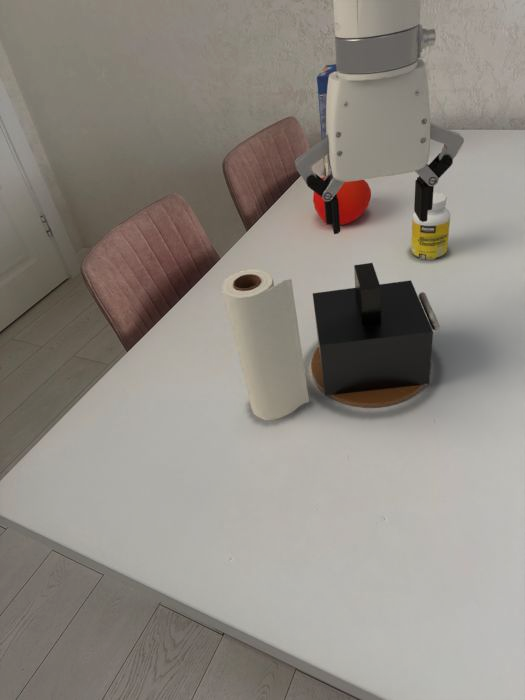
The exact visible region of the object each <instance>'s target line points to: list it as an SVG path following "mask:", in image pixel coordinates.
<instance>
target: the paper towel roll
mask: <svg viewBox="0 0 525 700" xmlns="http://www.w3.org/2000/svg"><path fill="white" fill-rule="evenodd" d="M221 292H222V297H223V301H224V304H225V308H226V312H227V316H228V320H229V324H230V328H231V333H232V336H233V341H234V344H235V348H236V349H235V350H236V352H237V356H238V361H239V364H240V367H241V372H242V377H243V381H244V385H245V388H246V392H247V396H248V398H249V399H248V400H249V404H250V408H251V410H252V413H253V414H254V415H255V417H257V418H258V419H261V420H265V421H276V420H278V419H280V418H284V417H286V416H288V415H291V414H292V413H294V412H295V411H296V410H297V409H299V407H301V406H303V405H304V404H308V403H310V397H309V393H308V391H309V390H308V387H307V378H306V371H305V364H304V358H303V350H302V344H301V343H302V342H301V337H300V330H299V329H300V328H299V323H298V316H297V315H298V314H297V308H296V301H295V295H294V289H293V281H292V278H287V279H284V280H282V281H281V282H278V283H276V284H275V283H274V278H273V277H272V275H271V273H270V272H268V271H266V270H263V269H256V268H253V269H244V270H241V271H237V272H235V273H233V274H231V275H229V276H228V277H226V278H225V279H224V281H222V285H221Z"/></svg>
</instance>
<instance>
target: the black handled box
mask: <svg viewBox="0 0 525 700" xmlns="http://www.w3.org/2000/svg"><path fill="white" fill-rule="evenodd" d="M353 269H354V272H353V273H354V287H350V288H343V289H336V290H335V289H334V290H327V291H321V292H320V291H319V292H312V302H313V309H314V310H313V311H314V317H315V319H314V320H315V326H316V328H315V329H316V334H317V336H316V337H317V344H318V347H316V349H315V351H314V353H313V355H312V357H311V363H310V370H311V376H312V378H313V380H314V382H315V384H316V386H317V387H318V388H319V390H321V392H323V393H324V395H325V396H328V397H329V398H331V399H332V400H335V401H336V402H339V403H340V404H341V403H342V404H343V405H347V406H352V407H358V408H367V409H368V408H369V409H371V408H372V409H373V408H383V407H384V408H385V407H389V406H394V405H397V404H400V403H402V402H405V401H407V400H409V399H411V398H413V397H414V396H415V395H417V394H418V393H419V392H420V391H421V390H423V388H424V387H425V386H426V385H430V381H431V380H430V379H431V373H432V372H431V371H432V354H433V338H434V331H438V330H439V329H440V327H441V326H440V325H441V324H440V323H439V320H438V318H437V316H436V313H435V312H434V310H433V307H432V305H431V302H430V301H429V299H428V296H427V294H426V293H425V292H422V291H421V292H419V293H417V291H416V288H415V286H414V284H413V282H412V280H411V279H410V280H402V281H396V282H395V281H394V282H387V283H380V281H379V278H378V275H377V271H376V269H375V266H374V263H373V262H367V263H361V264H354V265H353Z"/></svg>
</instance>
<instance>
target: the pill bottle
mask: <svg viewBox="0 0 525 700" xmlns="http://www.w3.org/2000/svg"><path fill="white" fill-rule="evenodd" d="M446 205H447V195H446V194H444V193H443V192H438V191H433V205H432V210H428V215H427V221H425V222H422V221H420V220H419V218H418V217H417V215H416V213H415V211H414V212H413V214H412V219H411V220H412V221H411V225H412V226H411V243H410V244H411V247H410V253H411V254H410V255H411V256H412V257H413V258H414V259H416V260H418V261H422V262H435V261H439V260H441V259H443V258H445V257H446V256H447V253H448V245H449V236H450V235H449V234H450V225H451V224H450V223H451V212H450V210H449V209H448V208H447V207H446Z"/></svg>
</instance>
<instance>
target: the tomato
mask: <svg viewBox="0 0 525 700" xmlns="http://www.w3.org/2000/svg"><path fill="white" fill-rule="evenodd" d="M325 177H326V176H322V177H321V178H322V179H323V180H324V179H325ZM336 195H337V198H338V202H339V217H340V226H344V225H348V224H350V223H352V222H354V221H356V220H357V219H358V218H360V217H361V216H362V215H363V214H364V213H365V211H366V210H367V209H368V207H369V205H370V202H371V198H372V189H371V187H370V185H369V184H368V182H367V181H366V179H365V180H358V181H349V182H344V184H343V185H342V186H341V188H340V189H339V190H338V192H337V193H336ZM312 196H313V197H312V203H313V206H314V210H315V212H316V213H317V215H318V217H319V218H320V219H321V221H322V222H324V223H325V224H326V218H325V206H324V200H323V198H322V197H321V196H320V195H318V194H317V193H316V192H314V191H313V195H312ZM329 226H332V224H329Z"/></svg>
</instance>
